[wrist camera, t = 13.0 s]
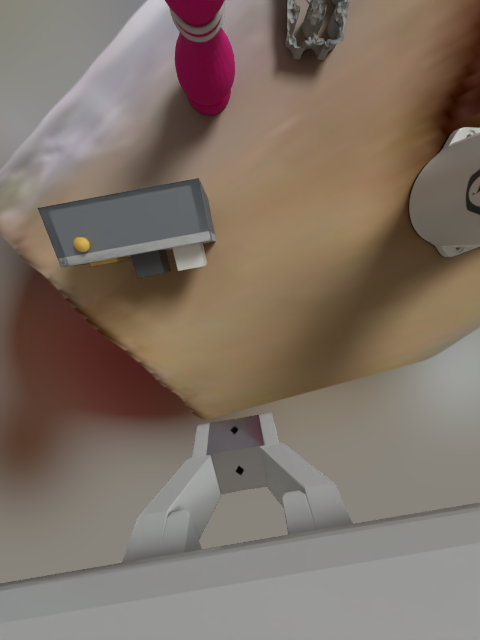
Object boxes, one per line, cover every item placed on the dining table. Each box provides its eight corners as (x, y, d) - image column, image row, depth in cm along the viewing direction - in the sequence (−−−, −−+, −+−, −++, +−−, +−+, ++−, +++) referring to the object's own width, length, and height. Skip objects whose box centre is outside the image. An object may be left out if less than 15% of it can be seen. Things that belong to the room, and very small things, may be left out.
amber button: (120, 230, 34) (107, 229, 30) (129, 259, 35) (117, 261, 32) (95, 235, 34) (78, 234, 30) (105, 264, 35) (90, 266, 32)
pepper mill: (211, 132, 35) (191, 1, 16) (171, 90, 34) (97, -110, 15) (244, 87, 34) (265, -113, 15) (205, 41, 32) (170, -250, 13)
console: (207, 198, 38) (197, 176, 26) (216, 241, 40) (210, 239, 28) (95, 219, 38) (33, 207, 26) (109, 260, 40) (57, 267, 28)
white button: (201, 235, 35) (197, 234, 31) (207, 263, 36) (204, 266, 32) (176, 240, 35) (170, 239, 31) (183, 268, 36) (178, 270, 32)
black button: (163, 242, 35) (155, 242, 31) (170, 270, 36) (163, 273, 32) (139, 247, 35) (128, 247, 31) (147, 274, 36) (137, 278, 32)
